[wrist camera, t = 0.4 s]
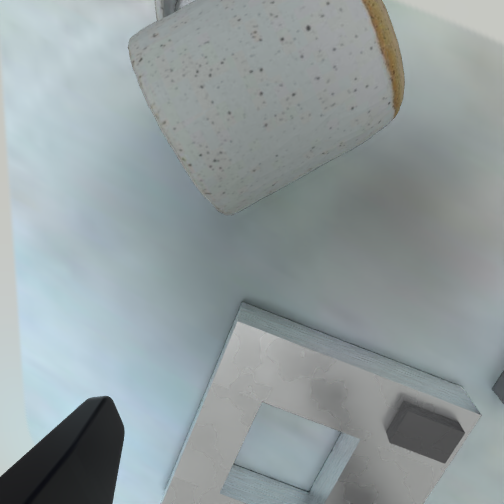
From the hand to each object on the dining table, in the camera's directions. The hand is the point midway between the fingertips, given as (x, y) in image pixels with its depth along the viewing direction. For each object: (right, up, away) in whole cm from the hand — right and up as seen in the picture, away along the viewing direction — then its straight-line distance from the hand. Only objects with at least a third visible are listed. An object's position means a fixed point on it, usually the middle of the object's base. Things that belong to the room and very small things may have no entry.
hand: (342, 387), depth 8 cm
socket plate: (+1, -9, +17) cm, 20 cm away
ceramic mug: (-2, +11, +12) cm, 16 cm away
